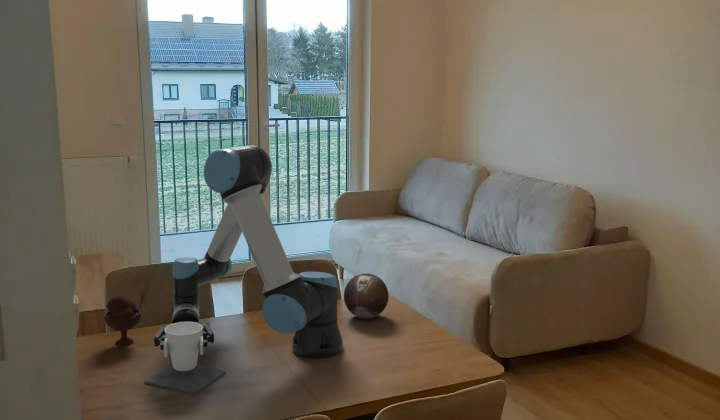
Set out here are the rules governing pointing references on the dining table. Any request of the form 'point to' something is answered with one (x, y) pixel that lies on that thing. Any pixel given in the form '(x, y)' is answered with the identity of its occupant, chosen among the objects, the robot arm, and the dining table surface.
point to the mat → (185, 379)
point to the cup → (184, 344)
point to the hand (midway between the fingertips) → (183, 350)
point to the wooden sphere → (366, 296)
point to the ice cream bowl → (122, 317)
